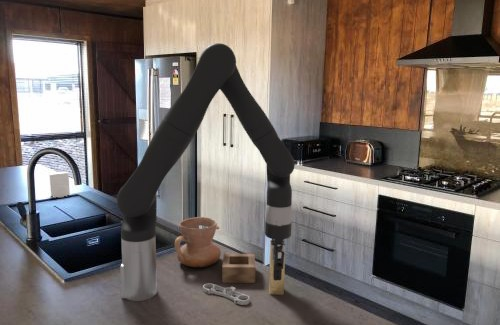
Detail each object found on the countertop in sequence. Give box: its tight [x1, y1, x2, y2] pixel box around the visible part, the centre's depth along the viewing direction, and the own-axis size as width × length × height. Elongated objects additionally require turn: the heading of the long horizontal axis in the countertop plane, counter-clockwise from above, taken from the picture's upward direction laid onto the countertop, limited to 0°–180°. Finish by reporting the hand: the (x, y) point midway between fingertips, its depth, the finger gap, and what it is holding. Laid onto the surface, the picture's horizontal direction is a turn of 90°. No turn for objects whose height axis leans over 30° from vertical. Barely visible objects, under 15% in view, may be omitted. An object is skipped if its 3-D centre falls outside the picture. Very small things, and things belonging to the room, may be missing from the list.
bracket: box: [202, 283, 251, 306], centre depth 117 cm, size 8×2×15 cm
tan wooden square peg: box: [268, 243, 286, 296], centre depth 118 cm, size 4×4×14 cm
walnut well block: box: [221, 253, 256, 284], centre depth 129 cm, size 10×10×5 cm
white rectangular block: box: [49, 171, 71, 198], centre depth 216 cm, size 9×9×12 cm
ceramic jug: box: [174, 216, 222, 268], centre depth 137 cm, size 18×14×14 cm
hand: (276, 275), depth 119 cm, fingers closed on tan wooden square peg, 4 cm apart
